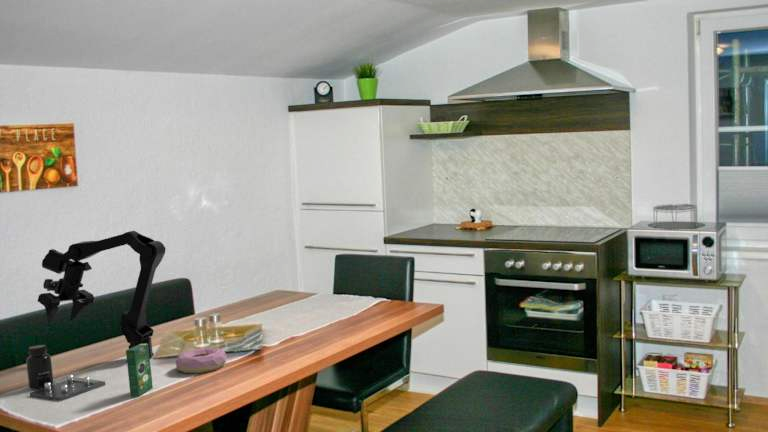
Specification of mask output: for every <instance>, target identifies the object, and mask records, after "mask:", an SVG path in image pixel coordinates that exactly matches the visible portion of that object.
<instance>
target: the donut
mask: <svg viewBox="0 0 768 432" xmlns="http://www.w3.org/2000/svg"><path fill="white" fill-rule="evenodd" d="M175 359H176V360H175V365H176V366H175V367H176V369H177V370H178V371H180V372H182V373H185V374H203V373H208V372H212V371H215V370H218V369H221V368H222V367H224V365H225V364H226V362H227V359H228V357H227V354H226V352H225V351H224V350H223V349H222V348H219V347H218V348H217V347H200V348H194V349H190V350H187V351H184V352H182V353H181V354H179V355H178V356H177V357H176V358H175Z"/></svg>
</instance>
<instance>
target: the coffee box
mask: <svg viewBox="0 0 768 432" xmlns="http://www.w3.org/2000/svg"><path fill="white" fill-rule="evenodd" d="M125 354H126V356H125V357H126V364H127V376H128V383H129V393H130V397H131V398H132V397H134V398H136V397H137V398H138V397H140V396H142V395H143V394H145V393H147V391H150V390H151V389H153V388H154V387H153V378H152V370H151V359H150V357H149V348H148V344H147V343H146V344H139V345H137V346H135V347H132V348H130V349H129V348H128V349H127V350H125Z"/></svg>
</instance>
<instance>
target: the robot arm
mask: <svg viewBox="0 0 768 432" xmlns="http://www.w3.org/2000/svg"><path fill="white" fill-rule="evenodd" d="M125 245H128V246H129V247H130V248H131V249H132V250H133V251H134V253H137V254H139V264H140V271H139V274H138V278H137V281H136V285H135V290H134V293H133V298H132V301H131V305H130V308H129V310H126V311H124V312H122V314H121V320H120V322H119V324H118V325H119V326H120V328H119V329H120V332H121V334H122V335H123V336H124V337H125V340H126V342H127V343H128V344H129V345H128V349H130V348H132V347H135V346H137V345H139V344H146V343H147V344H148V348H149V357H150V360H151V359H152V358H153V357H154V356H155V353H154V352H153V346H152V345H153V344H152V337H153V336H154V329H153V328H152V327H151V326H150V325H148V324H147V313H146V307H147V304H148V300H149V297H150V292H151V288H152V285H153V281H154V276H155V273H156V270H157V268H158V266H159V265H160V264H161V262H162V260H163V258H164V256H165V253H166V247H165V245H164V244H163V242H162V241H159V240H154V239H153V238H151V237H148V236H145V235H143V234H141V233H139V232H138V231H136V230H130V231H126V232H124V233H122V234H119V235H118V234H117V235H115V236H110V237H108V238H104V239H99V240H87V241H80V242H76V243H73V244H70V245H69V246H68V249H67V251H65V252H64V253H63V252H60V251H58V250H56V249H55V248H51V249H48V252H47V254H45V256H44V257H43V259H42V262H41V267H42V268H43V269H45V270H47V271H50V272H53V273H56V274H57V275H58V274H60V275H61V274H62V273H63V277H61V278H59V279H58V280H53V278H52V279H51V278H45V279H44V282H43V290H46V291H47V292H46V293H45V292H44V293H41V294H38V298H37V302H38V303H40V304H41V305H42V306H43V307H44V308H45V313H46V323H47V324H48V325H51V324H52V322H53V320H54V318H55V316H56V314H57V313H58V311H59V308H60V307H59V306H60V304H61V302H70V301H71V302H72V307H71V312H70V316H69V320H70V321H71V322H74V320H75V319H76V318H77V317H78V316H80V314H81V313H82V312H83V311H84V310H85V309H86V308H87V307H88V306H90V304H93V303H94V300H95V297H94V294H93V293H91V292H90V291H87V290H85V289H80V288H83V286H84V284H83V283H82V279H83V276H84V273H85V272H88V271H90V270H92V268H93V267H92V266H91V264H90V263H89V262H88V261H85V262H82V261H84V260H87V259H88V258H91V257H93V256H95V255H97V254H99V253H100V252H103V251H107V250H111V249H115V248H119V247H122V246H125ZM50 291H52V292H53V293H54V294H53V293H52V292H50Z"/></svg>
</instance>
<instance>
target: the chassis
mask: <svg viewBox="0 0 768 432" xmlns="http://www.w3.org/2000/svg"><path fill="white" fill-rule="evenodd" d="M44 384H45V388H42V389H35V390H33V391H31V392H29V396H30V397H33V398H39V399H46V400H52V401H58V402H62V401H65V400H68V399H70V398H74V397H76V396H79V395H82V394H84V393H87V392H90V391H92V390H96V389H99V388H100V387H104V386H105V385H106V381H103V380H98V379H90V377H89V376H85V377H74V376H73V374H68V375H66V380H63V381H59V382H58V383H53V385H51V383H50V382H47V383H44Z"/></svg>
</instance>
